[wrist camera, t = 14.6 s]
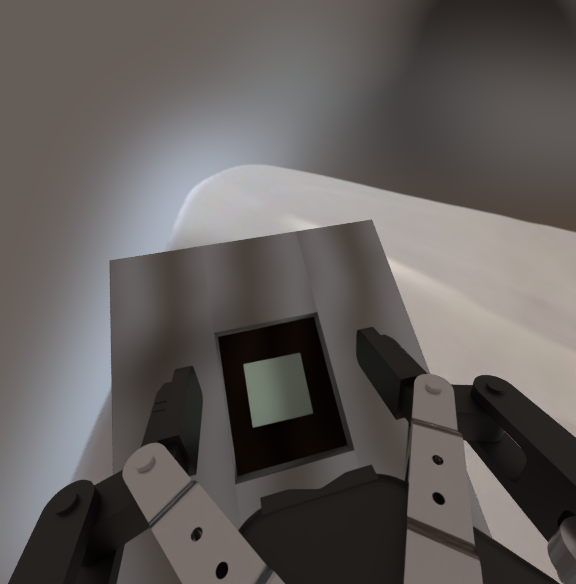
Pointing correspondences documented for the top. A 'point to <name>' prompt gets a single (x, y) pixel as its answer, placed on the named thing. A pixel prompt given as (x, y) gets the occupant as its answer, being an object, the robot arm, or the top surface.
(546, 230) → the top surface
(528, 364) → the top surface
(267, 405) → the sage peg
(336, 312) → the box
